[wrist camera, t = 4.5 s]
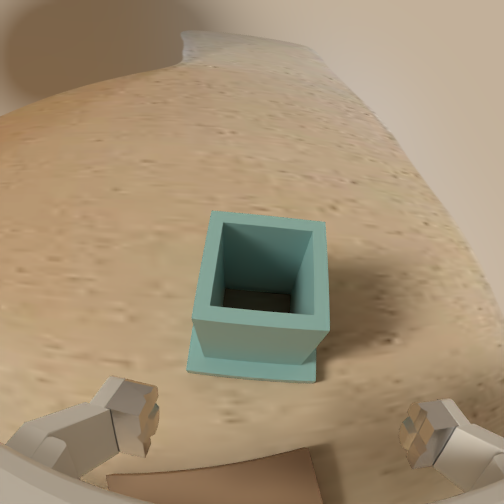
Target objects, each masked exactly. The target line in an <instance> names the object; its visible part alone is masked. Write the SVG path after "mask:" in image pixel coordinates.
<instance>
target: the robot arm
mask: <svg viewBox="0 0 504 504" xmlns="http://www.w3.org/2000/svg"><path fill="white" fill-rule="evenodd" d="M157 399H158V388H157V387H156V386H155V385H150V384H146V383H142V382H137V381H133V380H129V379H125V378H121V377H117V376H113V375H112V376H110V377H108V379H107V380H106V381H105V383H104V384H103V385H102V387H101V388H100V389H99V391H98V392H97V393H96V395H95V396H94V397H93V399H92V400H91V401H90V403H87V402H84V403H81V404H78V405H75V406H73V407H70V408H67V409H64V410H61V411H58V412H55V413H52V414H49V415H46V416H43V417H40V418H37V419H34V420H31V421H28V422H25V423H24V424H23V425H22V426H21V427H20V428H19V429H18V430H17V432H16V433H15V434H14V435H13V436H12V437H11V438H10V440H9V441H8V442H7V443H6V444H5V445H4V444H3V443H1V442H0V504H155V503H151V502H147V501H143V500H139V499H136V498H132V497H129V496H125V495H122V494H118V493H115V492H112V491H109V490H106V489H103V488H100V487H97V486H94V485H91V484H89V483H86V482H83V481H81V480H80V478H79V477H81V476H83V475H84V474H86V473H88V472H89V471H91V470H93V469H94V468H96V467H98V466H99V465H101V464H102V463H104V462H106V461H107V460H109V459H110V458H112V457H114V456H115V455H117V454H118V453H119V452H122V453H126V454H130V455H134V456H138V457H142V458H145V457H146V455H147V452H148V450H149V447H150V445H151V439H150V437H151V436H153V435H154V434H155V433H156V430H157V427H158V423H159V406H158V405H157V404H156V401H157ZM407 413H408V415H409V417H408V418H407V419H405V420H404V421H403V422H402V425H401V427H400V431H399V440H400V444H401V446H402V447H403V448H404V449H406V450H407V451H408V452H407V455H406V457H407V459H408V461H409V463H410V466H411V468H412V469H416V468H422V467H429V466H433V468H435V469H436V470H437V471H438V472H440V473H441V474H442V475H443V476H445V477H446V478H447V479H449V480H450V481H451V482H452V483H454V484H455V485H456V486H457V487H459V488H460V489H461V490H463V491H464V492H465V493H463V494H460V495H457V496H453V497H450V498H446V499H443V500H439V501H435V502H431V503H427V504H504V438H503V437H501V436H499V435H497V434H495V433H493V432H491V431H489V430H487V429H484V428H482V427H480V426H478V425H476V424H471V423H470V422H469V421H468V419H467V418H466V417H465V415H464V414H463V413H462V412H461V410H460V409H459V408H458V406H457V405H456V404H455V402H454V401H453V400H452V399H450V398H446V399H439V400H434V401H423V402H413V403H412V404H411V405H410V407H409V409H408V411H407Z"/></svg>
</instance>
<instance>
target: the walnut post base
mask: <svg viewBox="0 0 504 504" xmlns="http://www.w3.org/2000/svg"><path fill="white" fill-rule="evenodd" d="M106 479H107V483H108V488H109V491H112V492H115V493H118V494H122V495H125V496H129V497H132V498H136V499H139V500H143V501H147V502H151V503H155V504H323V502H322V498H321V494H320V490H319V487H318V483H317V479H316V475H315V471H314V467H313V463H312V460H311V456H310V452H309V448H300V449H296V450H292V451H289V452H285V453H280V454H276V455H272V456H268V457H263V458H258V459H253V460H248V461H243V462H238V463H232V464H226V465H220V466H213V467H206V468H198V469H190V470H180V471H169V472H155V473H134V474H111V475H107V476H106Z"/></svg>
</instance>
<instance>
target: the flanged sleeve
mask: <svg viewBox="0 0 504 504" xmlns="http://www.w3.org/2000/svg"><path fill="white" fill-rule="evenodd" d="M225 288H226V289H236V290H246V291H257V292H267V293H278V294H290V313H279V312H268V311H257V310H246V309H236V308H226V307H223V302H224V295H225ZM192 322H193V329H192V335H191V342H190V348H189V355H188V361H187V368H186V370H187V372H188V373H195V374H202V375H210V376H218V377H227V378H237V379H248V380H260V381H273V382H290V383H314V382H315V381H316V347H317V346H318V345H319V343H320V342H321V341H322V340H323V339H324V337H325V336H326V335H327V334H328V333H329V331H330V311H329V280H328V259H327V241H326V226H325V222H320V221H311V220H302V219H293V218H284V217H274V216H264V215H254V214H243V213H233V212H221V211H212V212H211V216H210V221H209V226H208V231H207V236H206V242H205V247H204V252H203V257H202V263H201V268H200V273H199V279H198V284H197V290H196V296H195V301H194V307H193V313H192Z"/></svg>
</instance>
